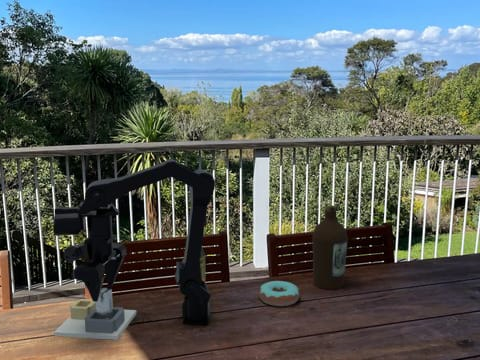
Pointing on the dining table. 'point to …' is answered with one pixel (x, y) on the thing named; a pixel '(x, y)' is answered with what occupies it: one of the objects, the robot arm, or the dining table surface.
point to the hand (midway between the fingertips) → (103, 293)
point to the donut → (279, 293)
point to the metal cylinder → (105, 304)
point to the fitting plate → (94, 322)
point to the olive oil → (329, 251)
